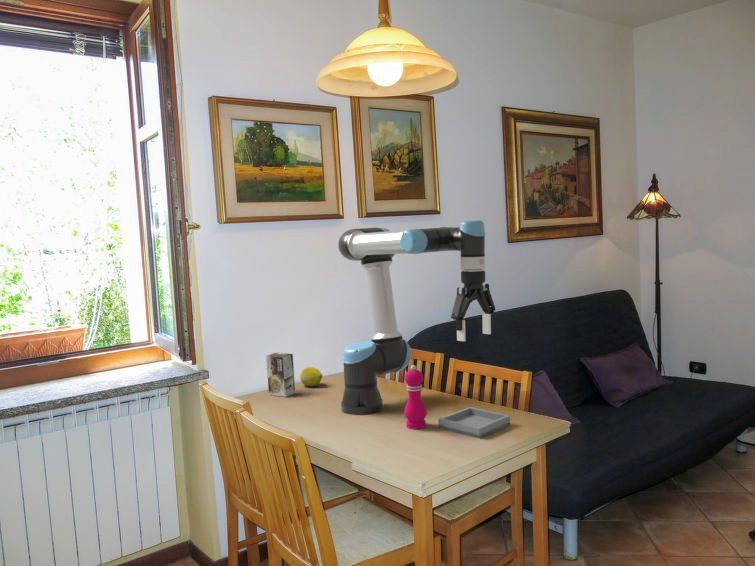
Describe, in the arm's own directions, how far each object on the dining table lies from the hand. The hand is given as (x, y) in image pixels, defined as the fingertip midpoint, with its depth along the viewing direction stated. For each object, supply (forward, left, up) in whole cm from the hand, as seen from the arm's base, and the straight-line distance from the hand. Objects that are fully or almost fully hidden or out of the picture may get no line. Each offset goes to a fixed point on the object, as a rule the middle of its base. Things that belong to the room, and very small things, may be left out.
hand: (474, 337), depth 196 cm
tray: (0, -2, -28) cm, 28 cm away
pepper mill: (-15, -13, -29) cm, 35 cm away
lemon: (-85, -1, -29) cm, 90 cm away
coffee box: (-85, -16, -29) cm, 91 cm away
